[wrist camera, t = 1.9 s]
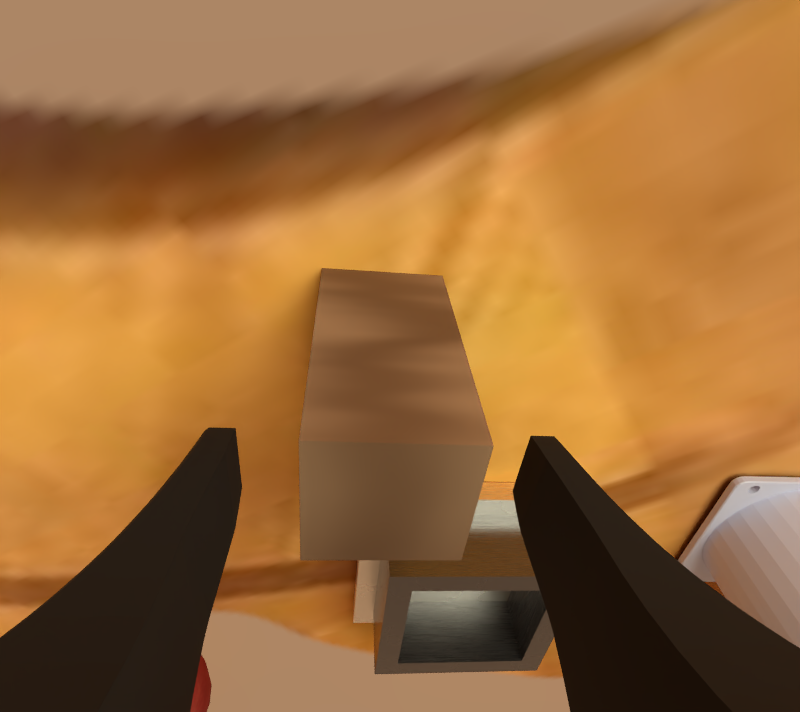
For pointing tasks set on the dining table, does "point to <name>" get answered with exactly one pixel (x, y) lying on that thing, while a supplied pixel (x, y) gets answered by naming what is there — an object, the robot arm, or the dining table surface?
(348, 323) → the rail post
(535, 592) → the grey square socket
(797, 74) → the dining table surface
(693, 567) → the robot arm
